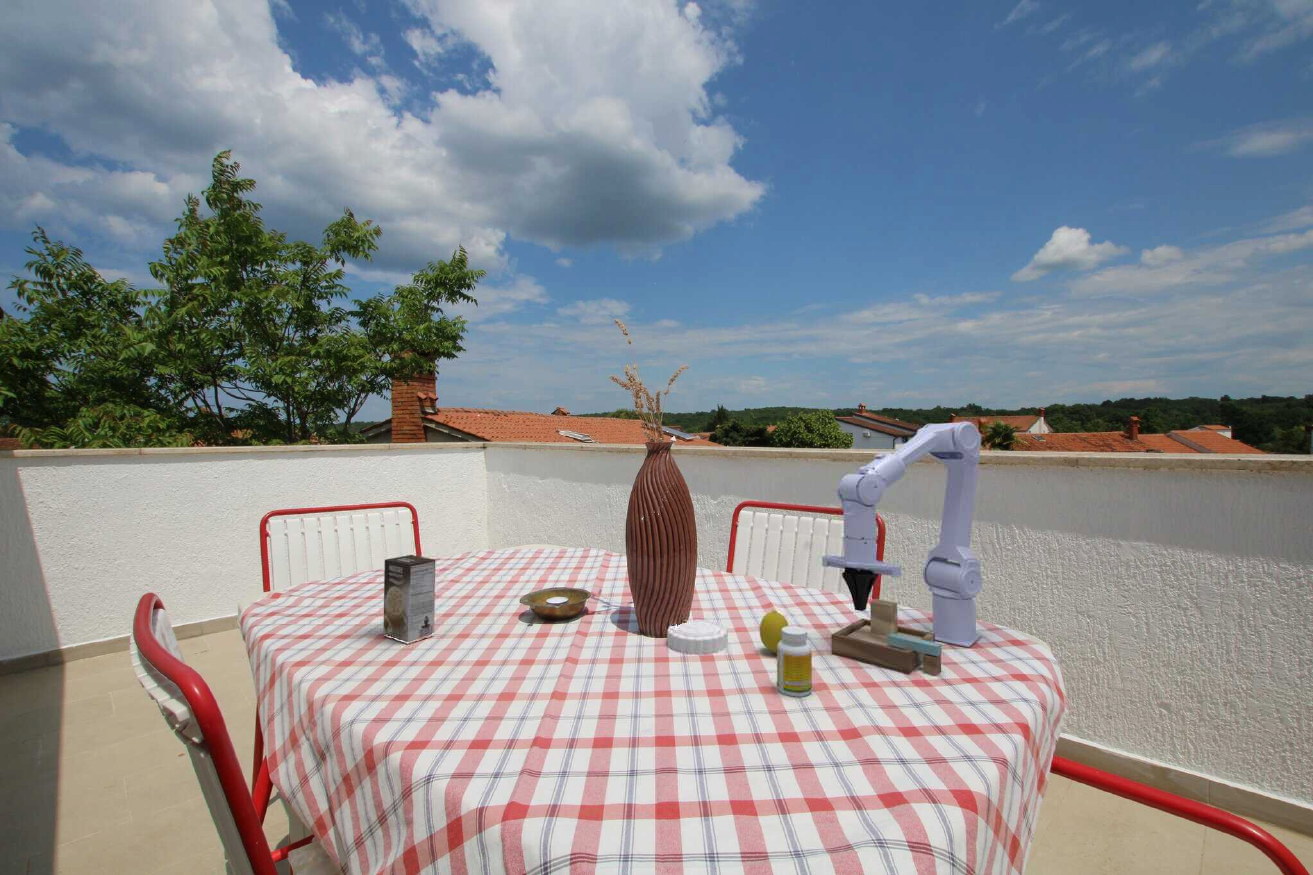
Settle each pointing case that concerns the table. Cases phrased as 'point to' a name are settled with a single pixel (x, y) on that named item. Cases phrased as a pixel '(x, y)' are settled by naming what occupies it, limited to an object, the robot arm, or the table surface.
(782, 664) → the supplement bottle
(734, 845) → the table surface
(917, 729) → the table surface
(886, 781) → the table surface
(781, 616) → the lemon
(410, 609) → the coffee box
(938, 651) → the rectangular block
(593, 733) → the table surface
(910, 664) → the tray
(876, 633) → the lid
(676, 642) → the mooncake
